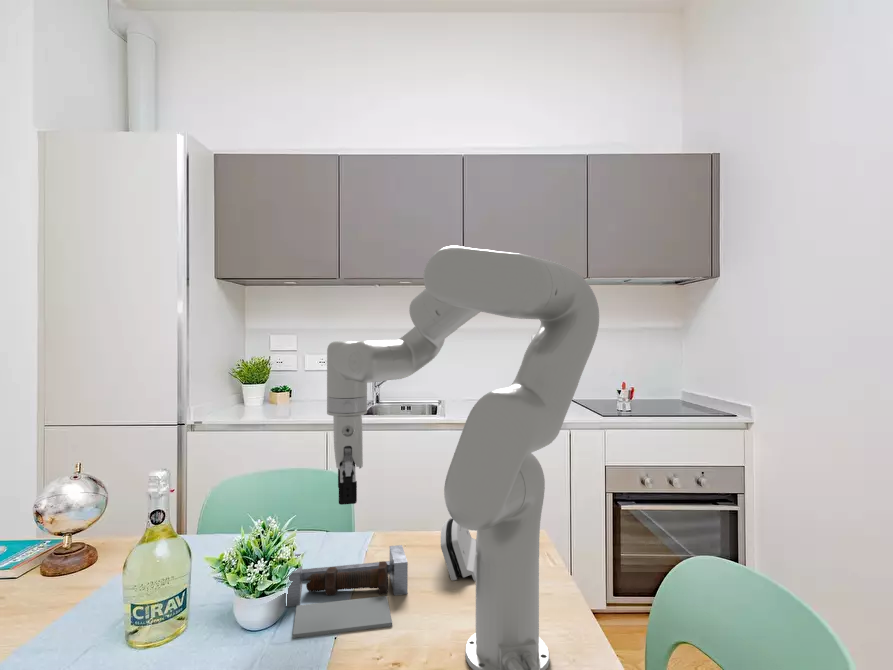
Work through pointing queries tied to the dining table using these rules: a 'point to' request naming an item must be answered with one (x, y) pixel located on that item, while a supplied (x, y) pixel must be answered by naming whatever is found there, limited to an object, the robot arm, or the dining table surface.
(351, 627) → the mat
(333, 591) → the bolt
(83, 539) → the dining table surface
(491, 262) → the robot arm
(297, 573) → the vise
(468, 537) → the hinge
